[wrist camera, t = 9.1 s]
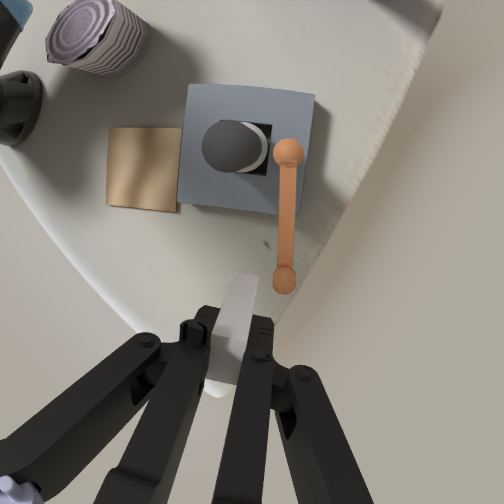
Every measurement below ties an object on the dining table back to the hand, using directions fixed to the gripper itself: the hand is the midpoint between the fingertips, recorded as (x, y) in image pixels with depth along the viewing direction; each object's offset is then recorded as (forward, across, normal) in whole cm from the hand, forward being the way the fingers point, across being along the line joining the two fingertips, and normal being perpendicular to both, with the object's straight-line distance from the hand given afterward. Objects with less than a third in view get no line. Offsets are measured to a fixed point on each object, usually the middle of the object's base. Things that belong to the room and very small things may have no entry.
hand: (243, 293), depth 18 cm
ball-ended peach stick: (+10, +2, +3) cm, 11 cm away
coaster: (+24, -19, +3) cm, 31 cm away
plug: (+24, -4, +8) cm, 26 cm away
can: (+25, -27, +23) cm, 43 cm away
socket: (+24, -4, +8) cm, 26 cm away
